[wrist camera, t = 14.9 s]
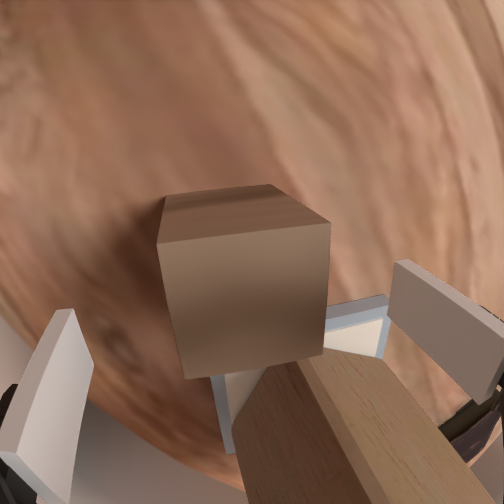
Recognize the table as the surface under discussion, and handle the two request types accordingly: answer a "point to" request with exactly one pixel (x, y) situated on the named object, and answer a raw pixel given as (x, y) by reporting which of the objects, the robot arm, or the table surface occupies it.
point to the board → (336, 337)
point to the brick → (243, 278)
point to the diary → (471, 427)
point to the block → (345, 439)
